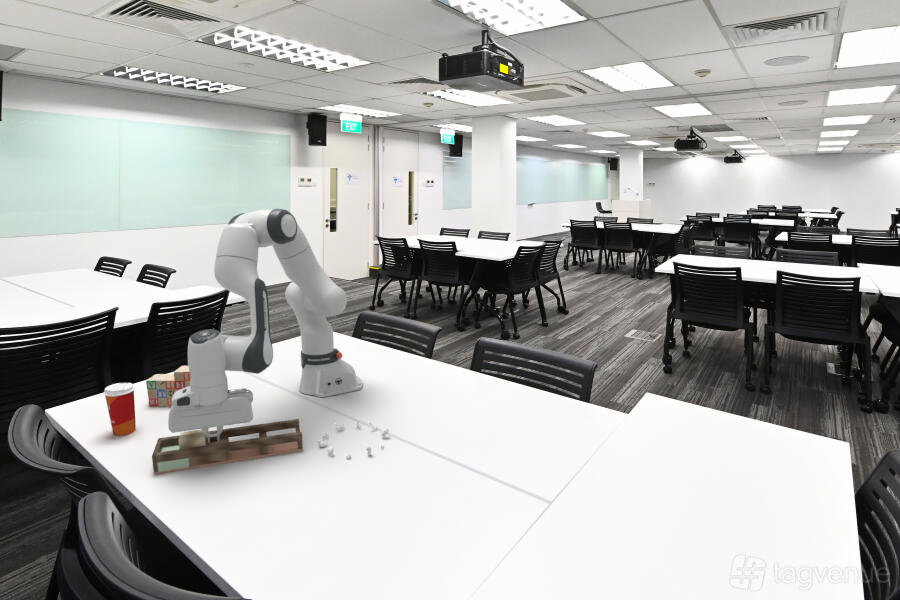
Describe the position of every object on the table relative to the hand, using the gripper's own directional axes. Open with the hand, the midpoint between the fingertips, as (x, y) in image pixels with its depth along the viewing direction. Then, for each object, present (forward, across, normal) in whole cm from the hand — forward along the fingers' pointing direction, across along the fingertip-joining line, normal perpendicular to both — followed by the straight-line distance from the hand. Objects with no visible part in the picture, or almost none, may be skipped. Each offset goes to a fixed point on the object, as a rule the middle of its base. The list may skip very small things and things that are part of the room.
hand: (214, 441), depth 136 cm
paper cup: (+4, +26, -24) cm, 36 cm away
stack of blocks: (+5, +11, -41) cm, 43 cm away
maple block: (+1, +5, 0) cm, 5 cm away
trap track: (+4, -4, 0) cm, 6 cm away
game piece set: (+5, -36, +5) cm, 37 cm away
